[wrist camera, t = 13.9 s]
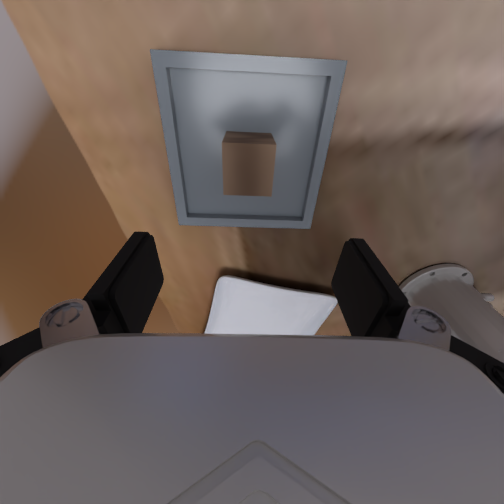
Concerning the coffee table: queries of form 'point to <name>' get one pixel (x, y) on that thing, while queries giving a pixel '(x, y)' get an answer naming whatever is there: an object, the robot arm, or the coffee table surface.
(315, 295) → the salad plate
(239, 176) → the walnut block
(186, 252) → the coffee table surface
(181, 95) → the slate dish
